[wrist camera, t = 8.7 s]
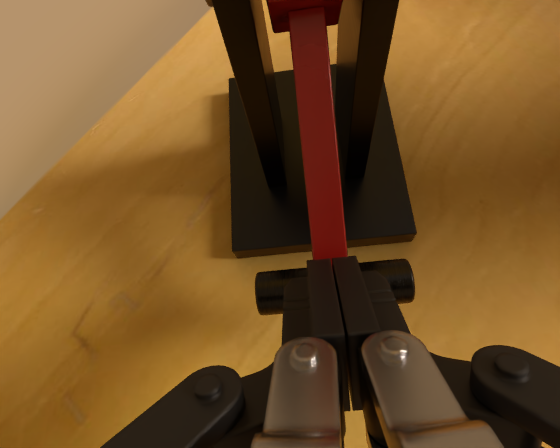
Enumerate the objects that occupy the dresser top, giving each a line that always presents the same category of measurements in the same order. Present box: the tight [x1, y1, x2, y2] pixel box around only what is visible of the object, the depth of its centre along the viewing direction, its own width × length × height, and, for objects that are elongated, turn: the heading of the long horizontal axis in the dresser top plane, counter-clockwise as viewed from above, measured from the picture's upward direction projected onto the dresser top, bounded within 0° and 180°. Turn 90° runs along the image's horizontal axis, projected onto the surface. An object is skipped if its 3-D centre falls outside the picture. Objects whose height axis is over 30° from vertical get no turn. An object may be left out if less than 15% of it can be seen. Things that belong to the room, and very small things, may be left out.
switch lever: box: [255, 0, 415, 315], centre depth 12 cm, size 12×5×2 cm, turn 4°
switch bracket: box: [206, 0, 417, 258], centre depth 16 cm, size 11×9×13 cm
